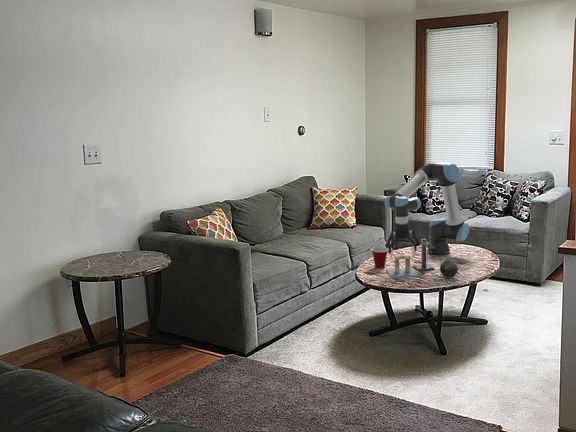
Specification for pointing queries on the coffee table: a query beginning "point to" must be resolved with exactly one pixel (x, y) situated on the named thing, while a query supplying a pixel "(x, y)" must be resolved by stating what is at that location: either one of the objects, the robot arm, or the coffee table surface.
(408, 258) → the wooden u-bracket
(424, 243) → the stand
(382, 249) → the plastic cup
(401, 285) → the coffee table surface
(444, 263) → the decorative stone
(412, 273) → the mat
